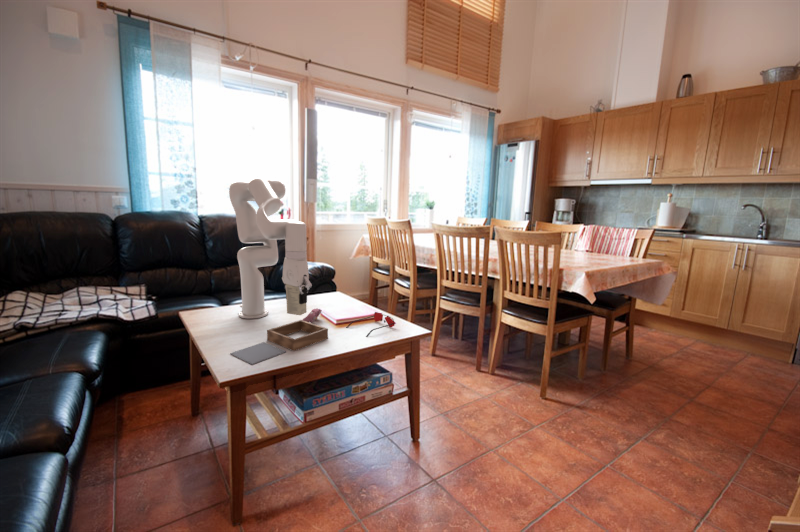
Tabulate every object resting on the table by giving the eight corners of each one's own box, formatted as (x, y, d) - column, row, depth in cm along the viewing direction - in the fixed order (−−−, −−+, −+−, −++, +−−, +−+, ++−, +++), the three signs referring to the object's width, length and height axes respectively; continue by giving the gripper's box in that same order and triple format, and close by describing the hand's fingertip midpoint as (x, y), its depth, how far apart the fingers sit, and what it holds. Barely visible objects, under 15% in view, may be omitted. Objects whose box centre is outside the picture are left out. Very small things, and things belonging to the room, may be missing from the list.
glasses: (396, 329, 156) (396, 317, 155) (366, 338, 144) (366, 326, 143) (375, 320, 166) (375, 310, 165) (345, 328, 154) (345, 317, 153)
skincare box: (306, 312, 140) (306, 281, 137) (300, 316, 136) (300, 284, 133) (292, 310, 142) (292, 279, 139) (285, 313, 138) (285, 282, 135)
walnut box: (267, 340, 138) (267, 330, 137) (301, 328, 151) (300, 319, 150) (294, 351, 129) (294, 340, 128) (327, 338, 142) (327, 328, 141)
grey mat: (230, 354, 125) (230, 353, 125) (263, 343, 135) (263, 342, 135) (252, 365, 117) (252, 363, 117) (285, 352, 128) (285, 351, 128)
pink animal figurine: (308, 328, 156) (315, 315, 154) (300, 323, 157) (306, 309, 155) (318, 321, 166) (324, 308, 164) (310, 316, 166) (316, 303, 164)
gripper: (273, 253, 136) (273, 298, 140) (303, 259, 126) (303, 308, 130) (289, 251, 142) (290, 294, 146) (319, 257, 132) (319, 304, 136)
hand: (296, 300), depth 138 cm, fingers closed on skincare box, 7 cm apart
